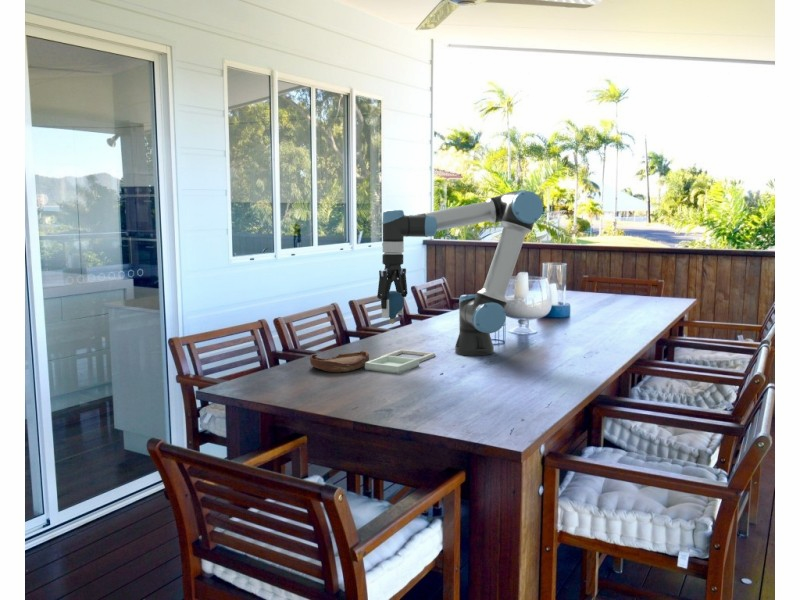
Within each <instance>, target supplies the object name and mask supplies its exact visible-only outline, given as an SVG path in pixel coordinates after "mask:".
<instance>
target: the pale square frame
mask: <svg viewBox="0 0 800 600" xmlns="http://www.w3.org/2000/svg"><path fill="white" fill-rule="evenodd" d="M401 354H406V355H414V356H415V355H416V356H420V357H417V358H416V359H419V363H421V362H423V361H426V360H428V359H432V358H434V357H436V352H430V351H420V350H412V349H411V350H410V349H398V350H395V351H392V352H388V353H387V354H383V355H381V356H379V357H378V358H380V357H383V356H386V355H388V356H398V355H401Z"/></svg>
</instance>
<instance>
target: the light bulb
mask: <svg viewBox="0 0 800 600" xmlns="http://www.w3.org/2000/svg"><path fill="white" fill-rule="evenodd" d="M387 300H389V318H388V319H389V324H392V325H393V324H395V323H396V318H397V316H398V315H397V313H398V312H400V311H401V310H402V308H403V309H404V306H405V299H403V297H402V295H401V294H400V293H399V292H397V291H395V290H390V292H389V295H388V299H387Z"/></svg>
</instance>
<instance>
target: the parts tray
mask: <svg viewBox="0 0 800 600" xmlns="http://www.w3.org/2000/svg"><path fill="white" fill-rule="evenodd" d="M385 355H386V354H385ZM382 356H383V355H382ZM379 357H380V356H379ZM379 357H378V358H377V357H376V358H375V359H371V360H369V361H368V362H365V366H364V370H366V371H367V370H368V371H374V372H383V373H390V374H396V375H397V374H398V375H399V374H402V373H404V372H407V371H409V370H412V369H414V368H417V367H419V365H420V362H419V359H417V358H414V357H405V356H398V355H396V356H388V355H386V356H383V357H380V358H379Z"/></svg>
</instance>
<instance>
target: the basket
mask: <svg viewBox="0 0 800 600" xmlns="http://www.w3.org/2000/svg"><path fill="white" fill-rule="evenodd" d="M317 356H318V355H317V354H315V353H313V354H310V356H309V360H310V365H311V366H312V367H313V368H316V369H318V370H321V371H325V372H328V373H344V372H350V371H351V372H352V371H355V370H358V369H361V368H363V367H365V362H368V361H370V355H369V351H366V350H362V351H359V352H348V353H339V354H338V355H336V356H333V357H332V358H322V357H321V358H320V357H317Z"/></svg>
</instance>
